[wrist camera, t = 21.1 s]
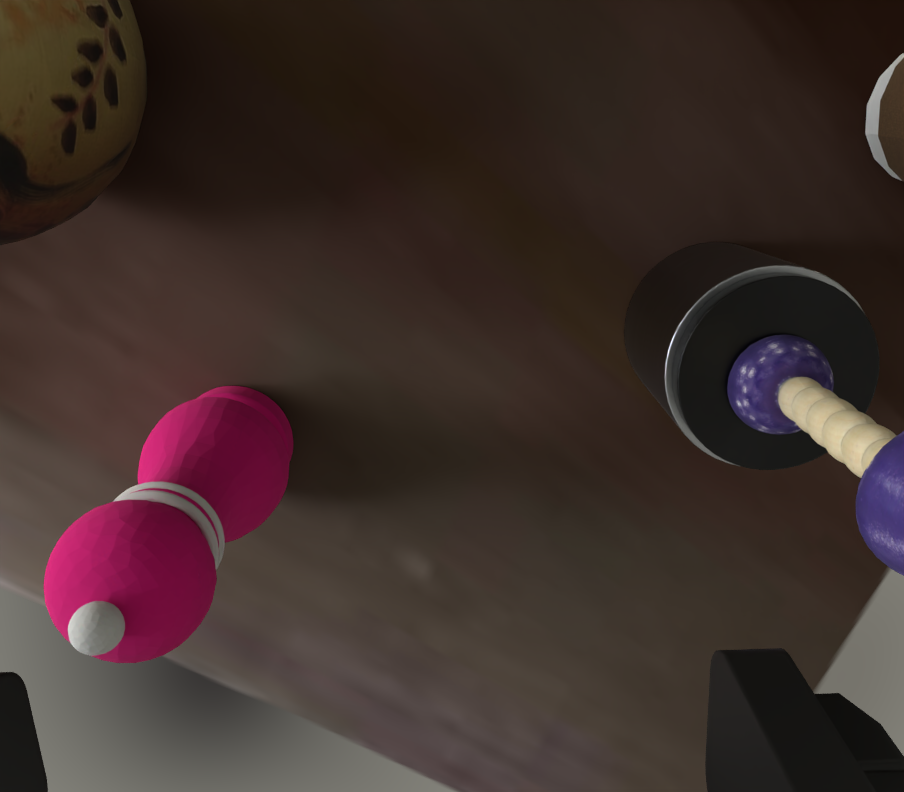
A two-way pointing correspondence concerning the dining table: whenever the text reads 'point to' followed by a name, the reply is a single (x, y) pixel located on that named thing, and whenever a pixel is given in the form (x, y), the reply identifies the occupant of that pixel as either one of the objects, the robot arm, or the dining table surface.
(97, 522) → the pepper mill
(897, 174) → the coffee cup
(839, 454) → the toy lamp
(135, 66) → the ceramic jug
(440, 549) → the dining table surface
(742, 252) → the grey metal canister
